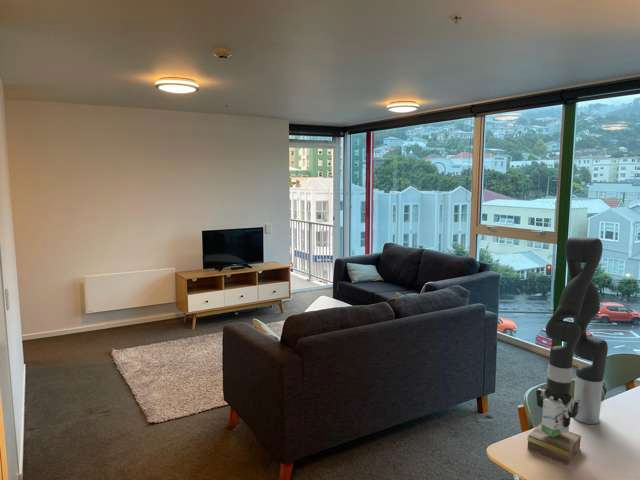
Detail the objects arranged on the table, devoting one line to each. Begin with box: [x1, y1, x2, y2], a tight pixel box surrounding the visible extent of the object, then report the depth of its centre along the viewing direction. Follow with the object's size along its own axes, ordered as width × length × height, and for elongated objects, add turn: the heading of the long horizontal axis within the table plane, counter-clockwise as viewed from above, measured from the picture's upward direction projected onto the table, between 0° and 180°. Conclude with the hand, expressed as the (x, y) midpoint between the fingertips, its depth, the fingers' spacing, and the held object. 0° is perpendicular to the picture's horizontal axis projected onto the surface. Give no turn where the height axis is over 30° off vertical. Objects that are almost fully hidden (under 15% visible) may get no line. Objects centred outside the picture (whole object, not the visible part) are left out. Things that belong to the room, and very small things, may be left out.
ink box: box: [541, 397, 572, 437], centre depth 163 cm, size 8×5×12 cm, turn 116°
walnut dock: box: [526, 421, 582, 466], centre depth 164 cm, size 14×13×5 cm
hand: (555, 422), depth 163 cm, fingers closed on ink box, 6 cm apart
